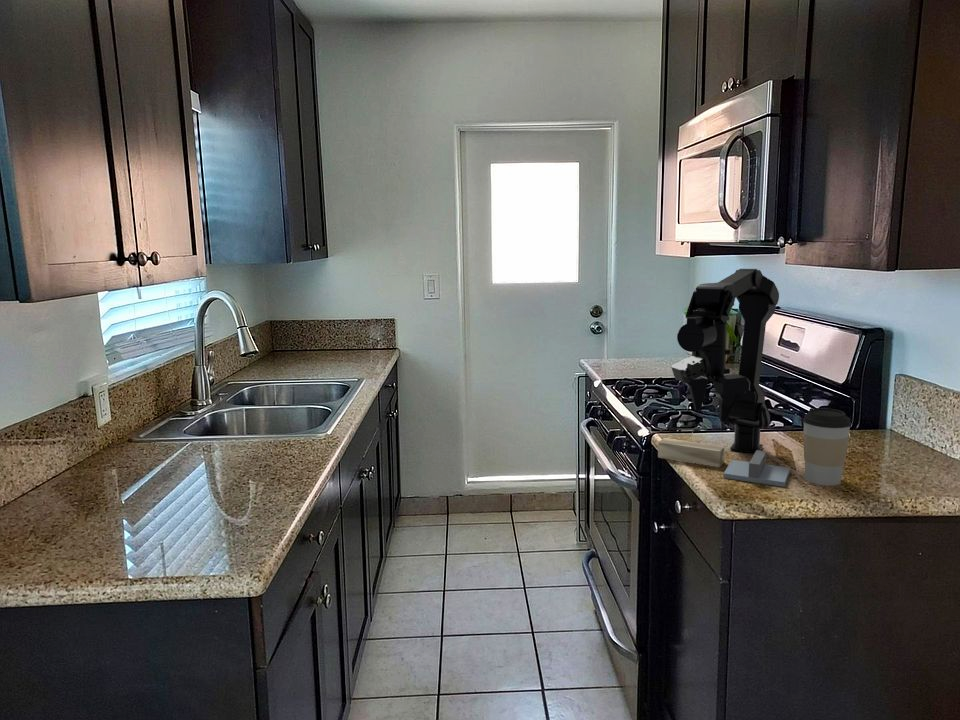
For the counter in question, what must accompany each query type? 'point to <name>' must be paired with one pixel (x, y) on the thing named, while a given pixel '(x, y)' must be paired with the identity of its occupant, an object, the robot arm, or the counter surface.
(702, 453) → the ash bar
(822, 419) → the coffee cup
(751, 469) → the ridge stand
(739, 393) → the robot arm
